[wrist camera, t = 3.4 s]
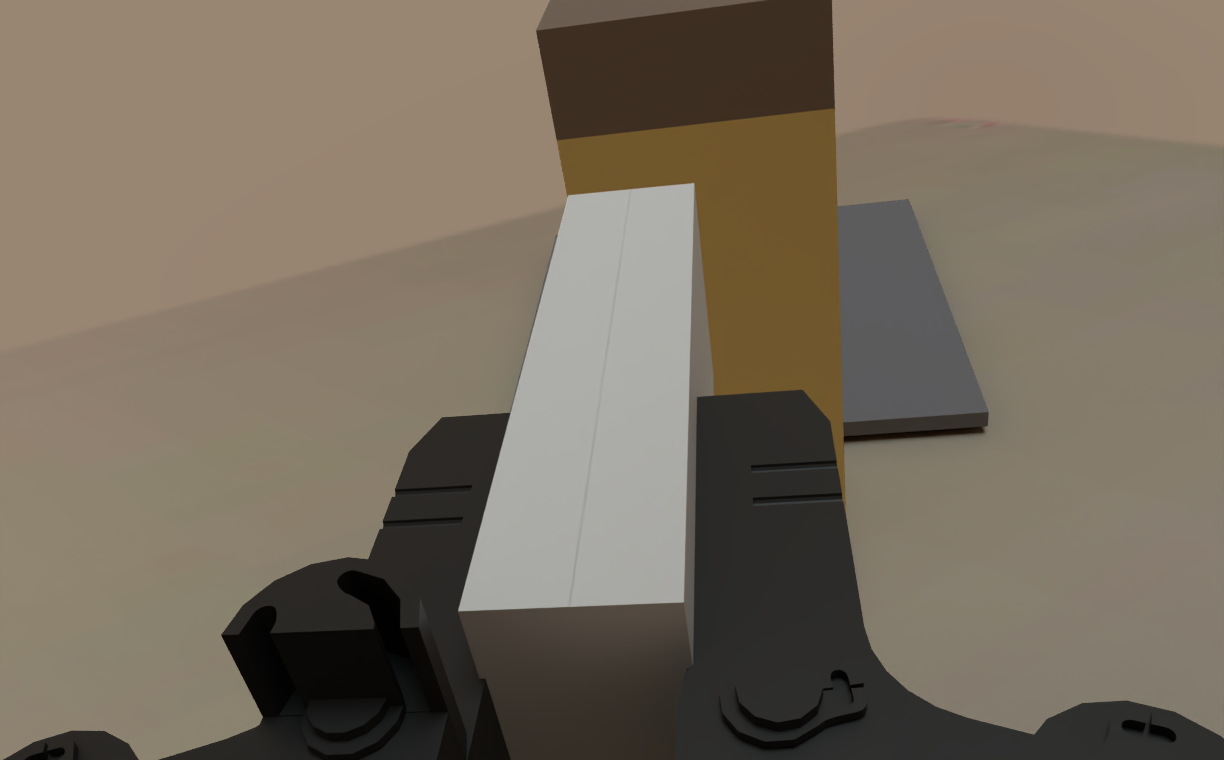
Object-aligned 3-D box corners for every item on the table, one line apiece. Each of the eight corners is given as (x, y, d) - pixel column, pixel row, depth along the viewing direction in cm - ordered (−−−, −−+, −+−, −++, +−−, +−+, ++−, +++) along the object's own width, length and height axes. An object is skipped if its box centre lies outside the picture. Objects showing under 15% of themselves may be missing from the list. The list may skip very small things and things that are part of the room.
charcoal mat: (908, 210, 40) (908, 199, 40) (987, 426, 29) (988, 411, 28) (558, 246, 42) (556, 235, 42) (504, 459, 31) (500, 446, 31)
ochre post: (827, 456, 29) (807, -73, 21) (847, 587, 25) (831, -9, 17) (651, 467, 30) (568, -40, 22) (642, 596, 25) (536, 30, 18)
